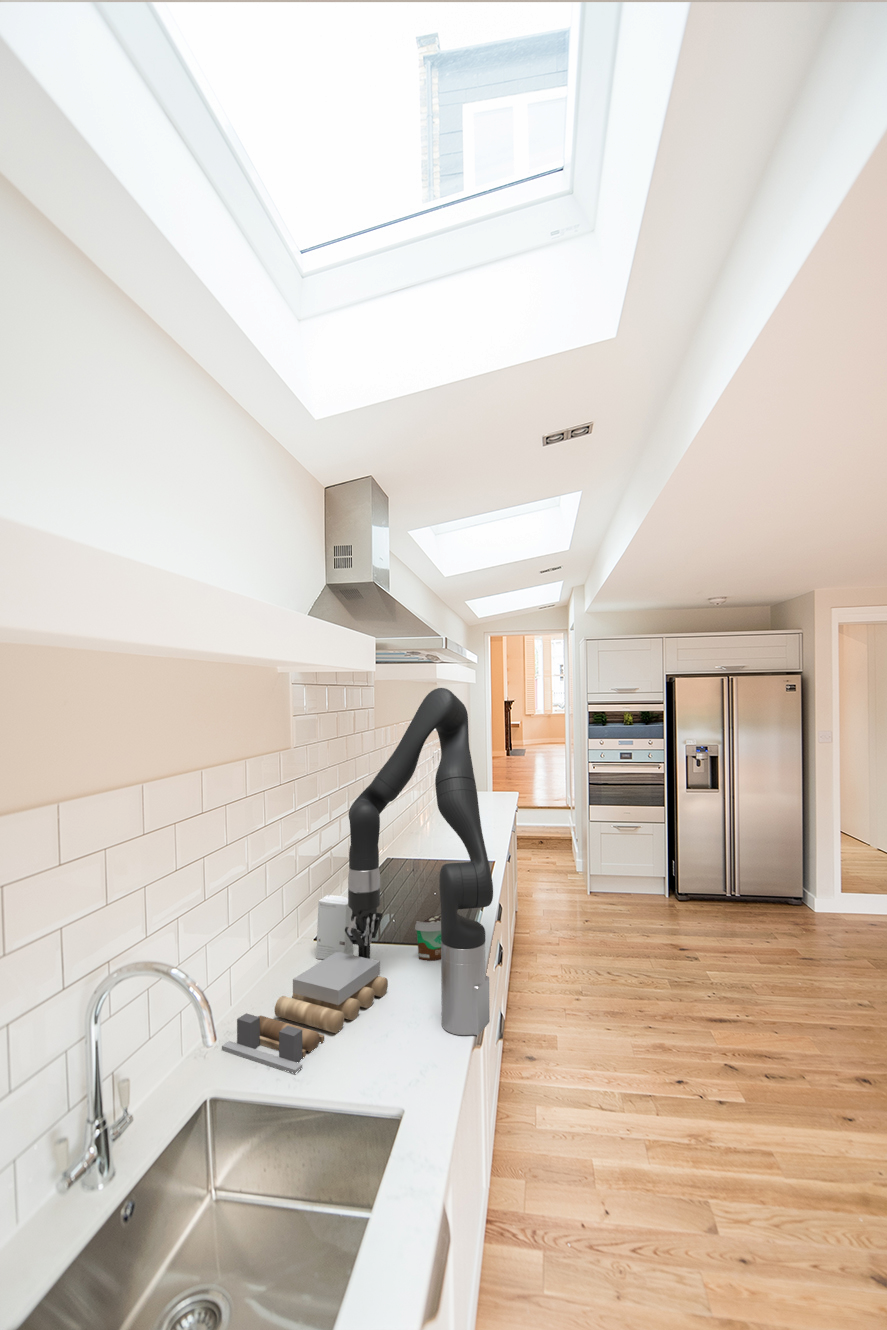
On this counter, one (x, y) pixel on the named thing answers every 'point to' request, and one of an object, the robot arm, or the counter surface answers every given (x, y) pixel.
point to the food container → (429, 938)
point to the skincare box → (333, 926)
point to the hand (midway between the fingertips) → (364, 959)
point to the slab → (336, 977)
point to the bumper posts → (251, 1040)
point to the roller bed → (325, 1010)
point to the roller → (272, 1028)
